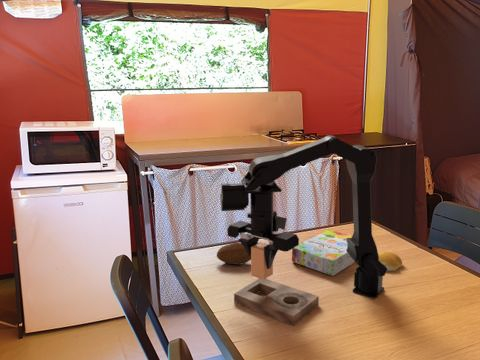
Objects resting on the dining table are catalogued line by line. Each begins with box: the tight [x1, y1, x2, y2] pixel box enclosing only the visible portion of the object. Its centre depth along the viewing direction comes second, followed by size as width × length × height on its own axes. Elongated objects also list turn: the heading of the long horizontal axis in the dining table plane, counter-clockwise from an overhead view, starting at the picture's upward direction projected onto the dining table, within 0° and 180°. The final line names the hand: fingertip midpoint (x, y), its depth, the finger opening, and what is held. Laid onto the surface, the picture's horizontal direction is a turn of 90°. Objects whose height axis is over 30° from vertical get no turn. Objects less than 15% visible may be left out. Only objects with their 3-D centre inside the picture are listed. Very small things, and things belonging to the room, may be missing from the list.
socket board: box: [233, 278, 320, 327], centre depth 116 cm, size 18×12×2 cm, turn 51°
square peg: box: [250, 241, 274, 280], centre depth 116 cm, size 4×4×8 cm
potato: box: [216, 241, 251, 265], centre depth 139 cm, size 7×12×7 cm, turn 95°
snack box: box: [291, 229, 355, 277], centre depth 142 cm, size 21×6×15 cm
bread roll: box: [378, 251, 403, 272], centre depth 137 cm, size 8×9×4 cm
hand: (262, 266), depth 116 cm, fingers closed on square peg, 4 cm apart
